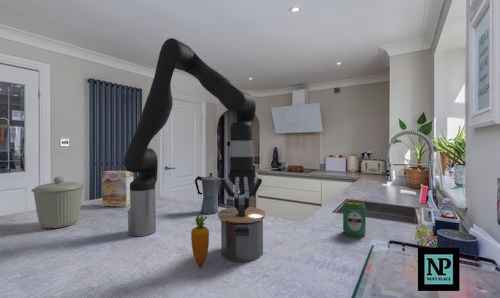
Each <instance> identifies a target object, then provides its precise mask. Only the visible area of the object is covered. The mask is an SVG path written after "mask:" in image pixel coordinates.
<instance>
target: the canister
mask: <svg viewBox="0 0 500 298" xmlns="http://www.w3.org/2000/svg"><path fill="white" fill-rule="evenodd" d="M84 187H85V185H84V184H82V183H80V182H76V181H65V179H64V177H63V176H55V177H54V178H53V182H50V183H43V184H40V185H37V186H36V187H34V188H32V189H31V192H32V193H33V196H34V203H35V209H36V215H37V220H38V224H39V226H40V227H41V228H43V229H46V228H48V230H49V229H51V228H55V229H60V227H62V228H65V226H66V227H70V226H73V225H74V224H76V223H77V222H78V220H79V218H80V212H81V204H82V195H83V194H82V193H83V189H84ZM69 225H70V226H69Z"/></svg>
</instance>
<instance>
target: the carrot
mask: <svg viewBox="0 0 500 298" xmlns="http://www.w3.org/2000/svg"><path fill="white" fill-rule="evenodd" d="M207 218H208V216H204V215H200V214H196V217H195V223H196V225H197V226H195V227H194V228H192V229H191V232H190V238H191V241H190V242H191V250H192V254H193V258H194V260H195V262H196V264H197V266H198V267H199V268H202V267H204V266H203V265H204V264H205V262H206V259H207V256H208V253H209V252H208V251H209V246H210V243H209V241H210V240H209V239H210V230H209V228H208V227H206V226H204V225H205V221H206V219H207Z"/></svg>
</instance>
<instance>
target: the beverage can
mask: <svg viewBox="0 0 500 298" xmlns="http://www.w3.org/2000/svg"><path fill="white" fill-rule="evenodd" d="M366 207H367V206H366V205H365V202H363V201H360V200H351V199H350V200H346V201H344V203H343V205H342V230H343V232H344V235H346V236H350V237H354V238H359V237H361V238H362V237H363V236H365V234H366V225H367V223H366V220H367V219H366V217H367V214H366V213H367V212H366V211H367V210H366Z"/></svg>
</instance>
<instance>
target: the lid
mask: <svg viewBox="0 0 500 298" xmlns="http://www.w3.org/2000/svg"><path fill="white" fill-rule="evenodd" d="M217 218H218V220H220V222H221V221H224V222H228V223H237V224H244V223H253V222H258V221H260V220H264V219H265V218H266V212H265V210H264V209H261V208H257V207H252V206H249V208H247V210H245V198H239V203H238V210H236V208H235V207H234V206H233V207H229V208H228V207H227V208H224V209H222V210H220V211H218V213H217Z"/></svg>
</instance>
